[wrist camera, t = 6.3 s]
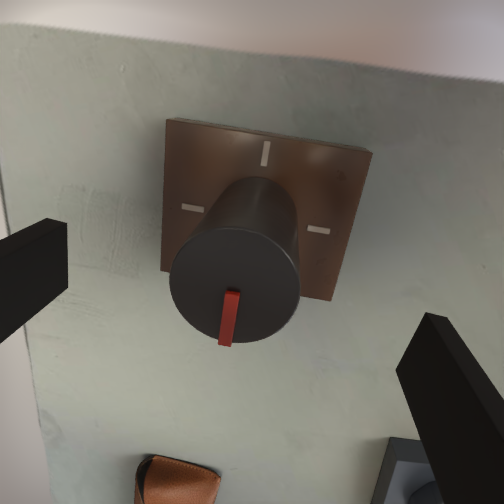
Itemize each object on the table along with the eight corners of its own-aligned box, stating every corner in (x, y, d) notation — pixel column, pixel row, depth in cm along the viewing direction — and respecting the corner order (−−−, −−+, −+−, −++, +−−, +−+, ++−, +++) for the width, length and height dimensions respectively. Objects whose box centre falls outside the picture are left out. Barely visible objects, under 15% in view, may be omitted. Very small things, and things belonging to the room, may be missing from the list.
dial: (219, 169, 21) (169, 217, 12) (305, 185, 20) (315, 244, 12) (210, 248, 23) (162, 334, 14) (288, 262, 23) (286, 359, 14)
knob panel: (366, 148, 21) (373, 153, 19) (328, 287, 25) (331, 303, 23) (176, 117, 22) (164, 119, 20) (169, 259, 26) (159, 272, 24)
